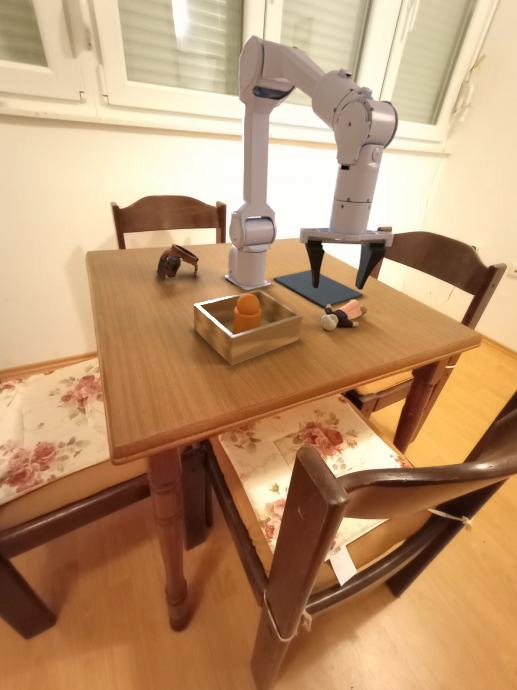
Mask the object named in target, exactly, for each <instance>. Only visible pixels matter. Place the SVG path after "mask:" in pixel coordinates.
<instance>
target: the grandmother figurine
mask: <svg viewBox="0 0 517 690" xmlns="http://www.w3.org/2000/svg"><path fill="white" fill-rule="evenodd" d="M368 310H369V309H368V307H367V306H366V305H365V304H360V301H358V300H357V299H356V298H354V299H351V300H348V303H346V304H345V305H343V306H342V307H339V308H337V309H336V310H332V306H331V305H330V304H328V305H327V306H326V308H324V312H325V314H324V315H322V317H321V319H320V320H321V323H320V324H321V326H322V328H323V329H325V330H326V331H329V332H331V331H334V330H335V329H336V328H337V326H342V327H348V328H357V327H359V326H360V325H359V321H352V320H356V319H358V318H359V317H363V316H364V315H366V314H367V313H368Z"/></svg>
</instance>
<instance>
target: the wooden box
mask: <svg viewBox="0 0 517 690" xmlns="http://www.w3.org/2000/svg"><path fill="white" fill-rule="evenodd" d="M246 293H250V294H253V295H255V296H256V297H257V298H258V300H259V302H260V309H261V311H262V313H261V323H260V327H257V328H254V329H251V330H248V331H245V332H242V333H238V334H235V335H233V326H234V309H235V307H236V306H237V301H238V299H239V297H240V296H241V295H243V294H246ZM303 318H304V317H303V315H302V314H300V313H299V312H297V311H295V310H294V309H292V308H290V307H289V306H287V305H286V304H284V303H282V302H281V301H279V300H277V299H276V298H274V297H273V296H272V295H270V294H268V293H266V292H265V291H263V290H262V289H261V288H257V289H252V290H248V291H245V292H241V293H237V294H233V295H228V296H224V297H220V298H215V299H211V300H206V301H203V302H198V303H194V304H193V329H194V331H196V332H197V333H198V334H199V336H201V337H202V339H204V340H205V341H206V342H207V343H208V344H209V345H210V346H211V347H212V348H213V349H214V350H215V351H216V352H217V353H218V354H219V355H220V356H221V357H222V358H223V359H224V360H225V361H226V362H227V363H228V364H229V365H231V366H233V365H236V364H238V363H242V362H243V361H247V360H249V359H252V358H255V357H257V356H259V355H262V354H265V353H268V352H271V351H273V350H276V349H278V348H281V347H284V346H286V345H289V344H291V343H292V344H293V343H295V342H297V341H299V340H300V339H299V338H300V332H301V327H302V322H303Z"/></svg>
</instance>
